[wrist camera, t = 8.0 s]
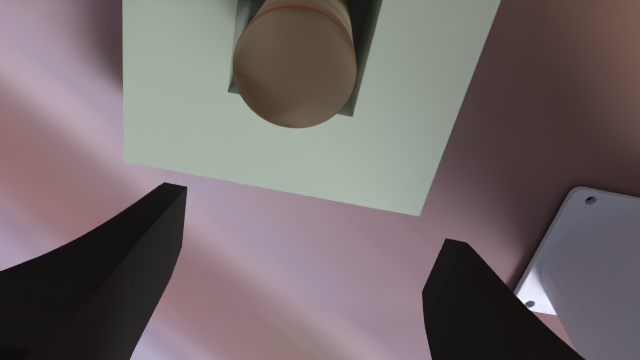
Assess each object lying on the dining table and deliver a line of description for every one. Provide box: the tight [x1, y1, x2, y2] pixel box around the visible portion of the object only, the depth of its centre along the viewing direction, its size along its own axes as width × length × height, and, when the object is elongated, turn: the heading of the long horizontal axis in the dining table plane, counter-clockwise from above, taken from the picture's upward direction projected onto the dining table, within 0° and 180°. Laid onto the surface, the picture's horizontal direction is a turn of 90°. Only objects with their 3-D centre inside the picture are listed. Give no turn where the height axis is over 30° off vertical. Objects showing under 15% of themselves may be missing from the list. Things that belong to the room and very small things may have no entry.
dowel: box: [232, 0, 357, 128], centre depth 16 cm, size 3×3×8 cm
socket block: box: [122, 0, 501, 216], centre depth 18 cm, size 12×12×4 cm
